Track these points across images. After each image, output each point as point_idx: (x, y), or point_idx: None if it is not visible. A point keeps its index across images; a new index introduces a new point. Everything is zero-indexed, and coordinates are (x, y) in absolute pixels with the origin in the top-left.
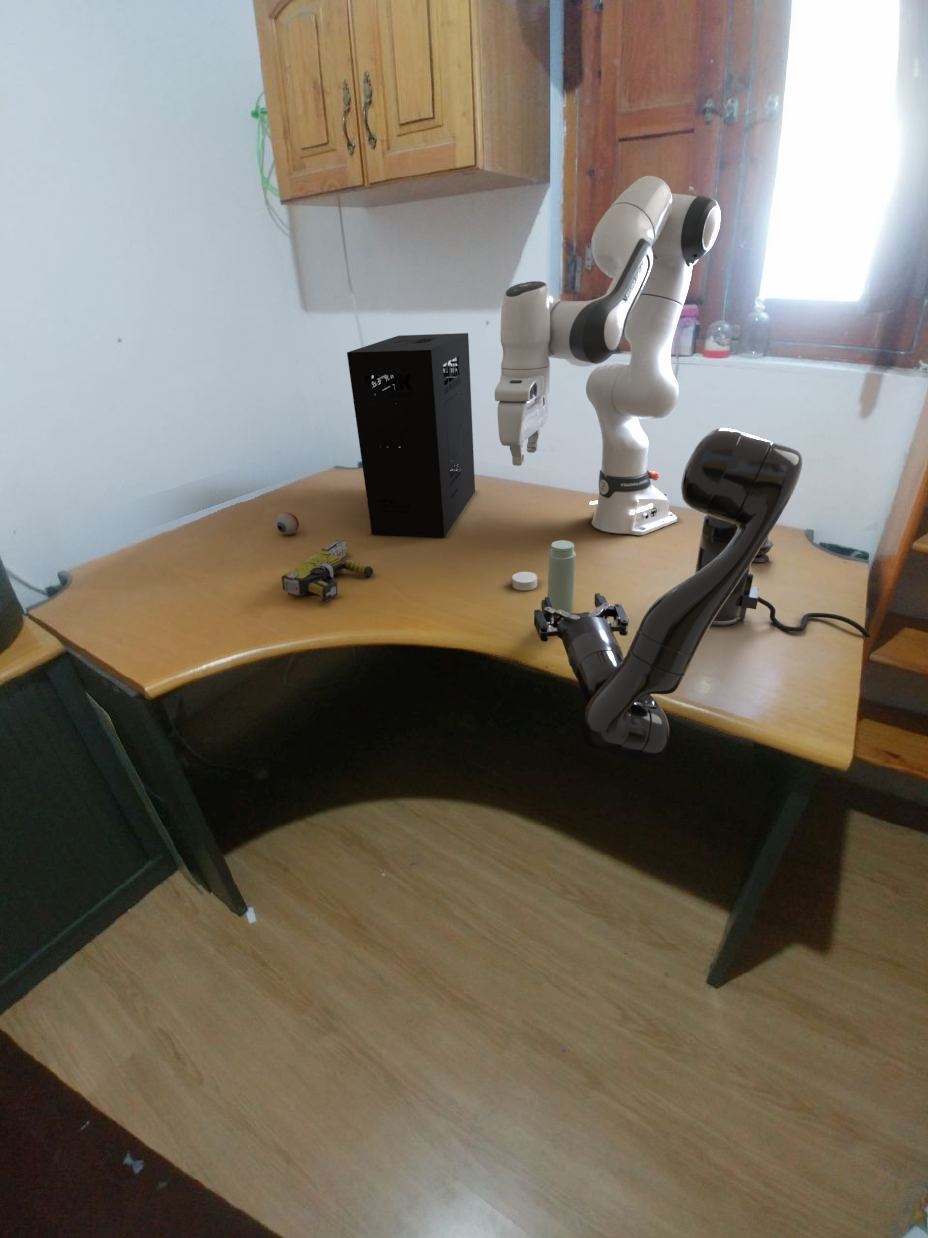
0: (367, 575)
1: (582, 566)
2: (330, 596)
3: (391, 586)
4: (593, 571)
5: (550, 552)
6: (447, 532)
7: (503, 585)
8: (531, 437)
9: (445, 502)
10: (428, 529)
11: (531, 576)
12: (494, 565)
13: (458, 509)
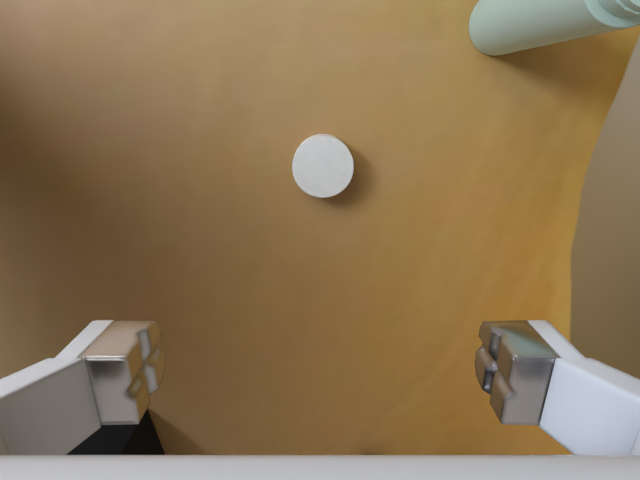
0: None
1: (168, 42)
2: None
3: (397, 409)
4: (187, 2)
5: (625, 21)
6: None
7: (336, 210)
8: (48, 437)
9: None
10: (150, 449)
11: (315, 151)
12: (243, 262)
13: None
